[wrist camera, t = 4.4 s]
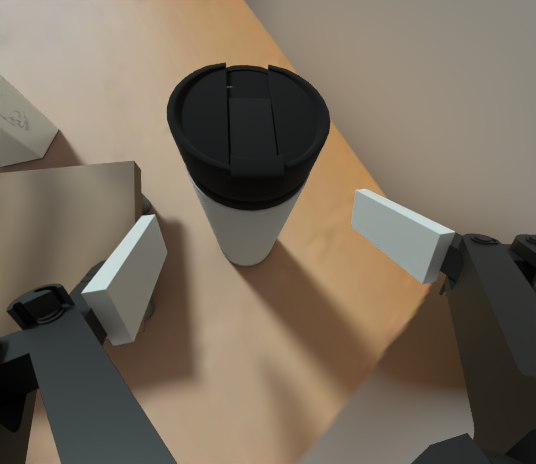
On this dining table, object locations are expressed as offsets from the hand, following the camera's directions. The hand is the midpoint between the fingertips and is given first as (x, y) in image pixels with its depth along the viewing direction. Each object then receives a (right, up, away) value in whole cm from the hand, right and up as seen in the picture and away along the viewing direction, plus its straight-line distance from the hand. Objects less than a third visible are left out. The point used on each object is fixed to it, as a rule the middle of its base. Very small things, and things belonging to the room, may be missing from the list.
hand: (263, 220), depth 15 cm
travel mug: (-2, -2, +12) cm, 13 cm away
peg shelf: (-20, -4, +9) cm, 23 cm away
